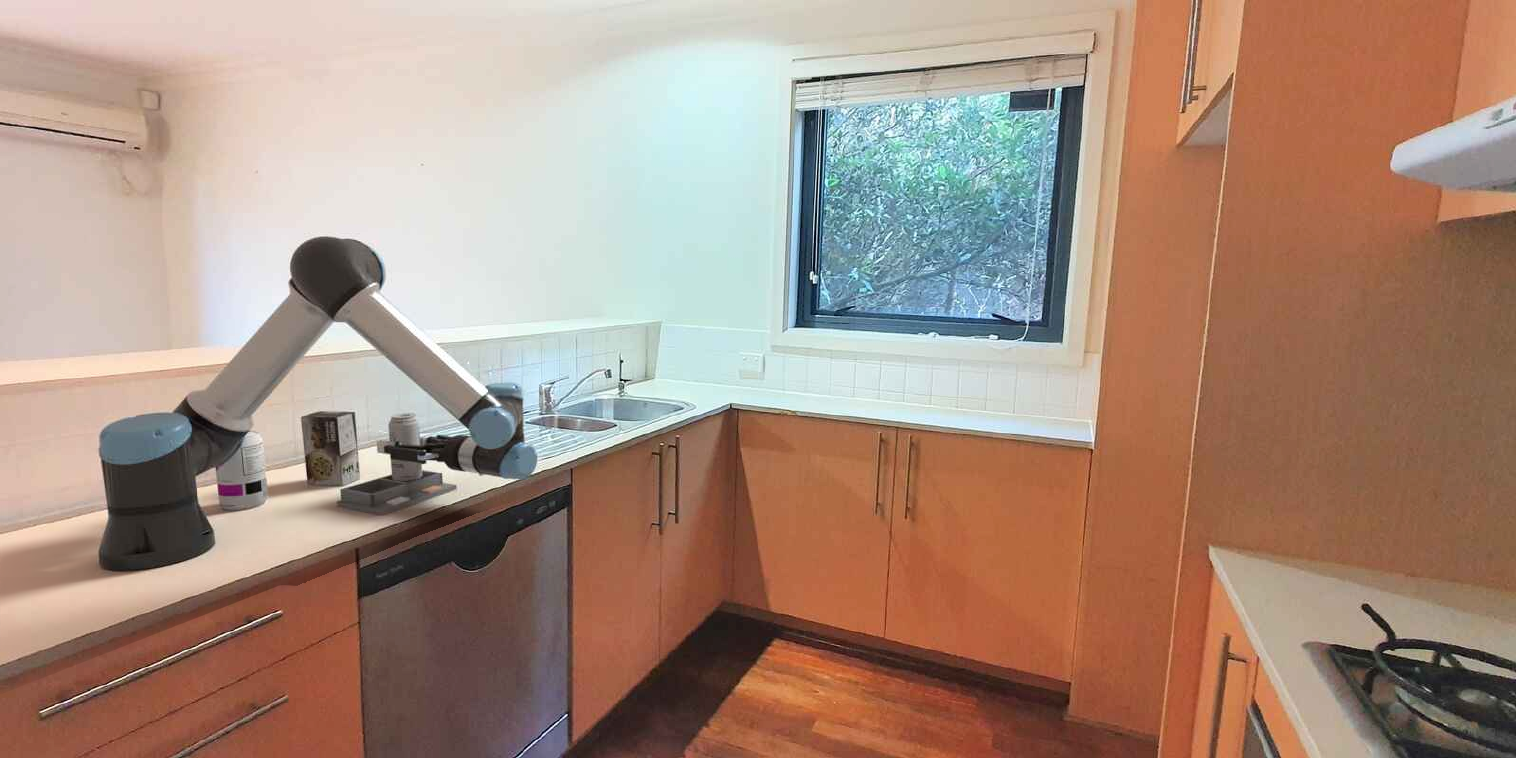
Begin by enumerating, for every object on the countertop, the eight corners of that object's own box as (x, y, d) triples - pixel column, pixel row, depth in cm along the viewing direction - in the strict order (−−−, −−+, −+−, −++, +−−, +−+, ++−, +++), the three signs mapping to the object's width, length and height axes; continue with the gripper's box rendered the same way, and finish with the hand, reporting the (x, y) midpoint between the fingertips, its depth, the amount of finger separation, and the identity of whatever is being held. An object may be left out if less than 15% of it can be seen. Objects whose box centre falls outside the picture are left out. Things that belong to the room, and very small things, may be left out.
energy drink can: (387, 481, 156) (383, 415, 154) (415, 475, 160) (411, 411, 158) (399, 486, 152) (395, 419, 150) (427, 481, 156) (423, 415, 154)
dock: (381, 515, 140) (380, 498, 140) (337, 506, 145) (335, 490, 145) (456, 489, 158) (455, 474, 157) (414, 482, 163) (413, 467, 162)
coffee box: (361, 478, 165) (356, 411, 163) (342, 486, 159) (337, 416, 156) (325, 477, 166) (320, 410, 164) (305, 485, 160) (299, 415, 157)
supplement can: (220, 514, 140) (213, 441, 138) (218, 503, 146) (211, 433, 144) (270, 506, 145) (263, 435, 143) (266, 496, 151) (259, 428, 149)
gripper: (434, 483, 139) (353, 469, 148) (503, 460, 157) (427, 450, 166) (432, 446, 138) (351, 435, 147) (501, 428, 156) (425, 419, 165)
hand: (391, 443), depth 156 cm, fingers closed on energy drink can, 6 cm apart
